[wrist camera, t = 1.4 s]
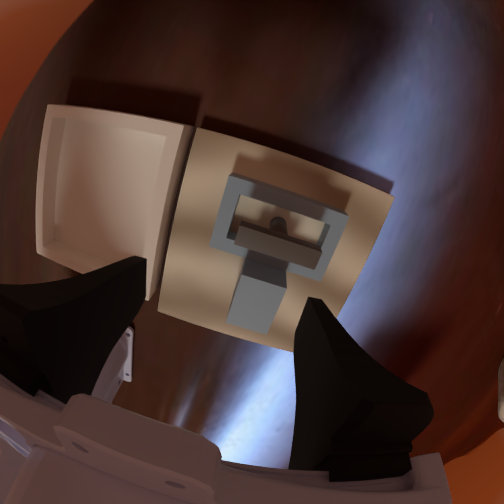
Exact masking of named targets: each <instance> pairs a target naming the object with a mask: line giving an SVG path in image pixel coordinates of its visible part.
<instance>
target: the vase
mask: <svg viewBox="0 0 504 504" xmlns="http://www.w3.org/2000/svg"><path fill="white" fill-rule="evenodd" d="M498 378H499V397H498V416H499V418H500V419H501V420H502V421H503V422H504V357H503V359H502V361H501V363H500V366H499V370H498Z"/></svg>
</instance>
